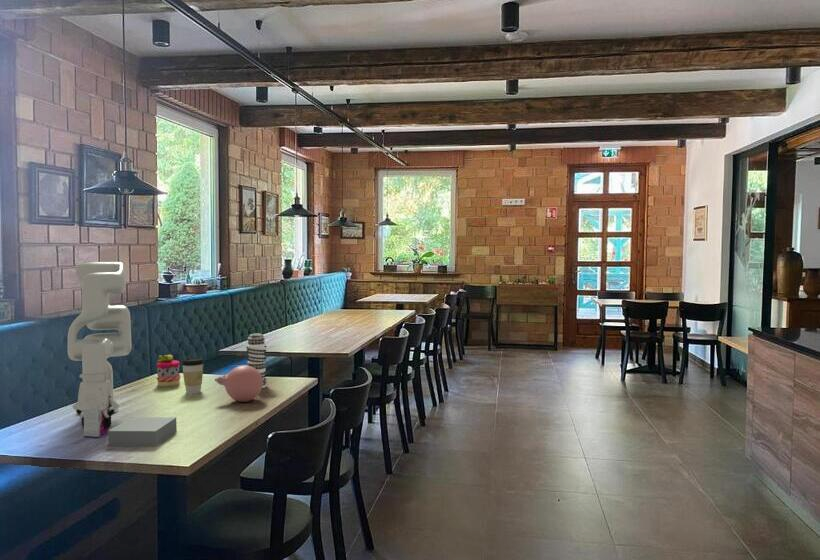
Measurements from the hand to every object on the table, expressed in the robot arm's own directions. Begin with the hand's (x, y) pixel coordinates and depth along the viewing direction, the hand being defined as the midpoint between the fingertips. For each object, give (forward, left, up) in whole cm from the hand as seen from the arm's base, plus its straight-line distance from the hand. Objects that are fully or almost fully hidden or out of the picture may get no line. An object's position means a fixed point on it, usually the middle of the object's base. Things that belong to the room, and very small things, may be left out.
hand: (96, 427), depth 206 cm
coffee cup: (+9, +63, -3) cm, 64 cm away
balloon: (+35, +47, -3) cm, 59 cm away
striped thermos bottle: (+35, +74, -3) cm, 82 cm away
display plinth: (+18, -3, -3) cm, 18 cm away
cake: (-9, +78, -3) cm, 79 cm away
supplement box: (0, 0, -3) cm, 3 cm away
